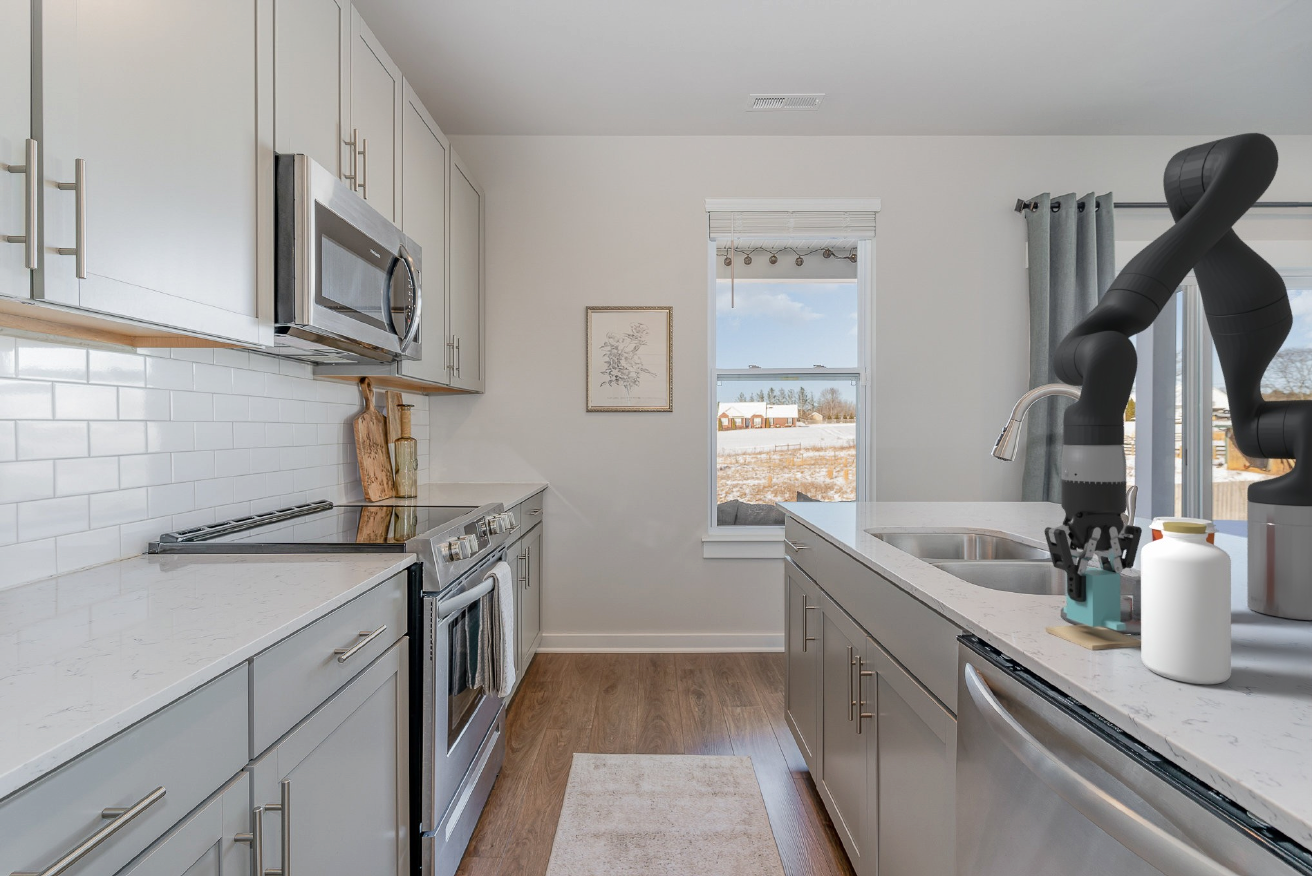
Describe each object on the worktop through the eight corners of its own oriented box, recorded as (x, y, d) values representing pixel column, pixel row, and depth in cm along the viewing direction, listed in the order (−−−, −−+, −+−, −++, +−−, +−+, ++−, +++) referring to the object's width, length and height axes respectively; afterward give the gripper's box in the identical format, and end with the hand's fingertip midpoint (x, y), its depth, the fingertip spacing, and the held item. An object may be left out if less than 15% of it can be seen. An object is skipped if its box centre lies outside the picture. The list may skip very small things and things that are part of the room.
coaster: (1093, 627, 95) (1093, 623, 95) (1143, 645, 87) (1143, 641, 87) (1045, 631, 94) (1045, 627, 94) (1092, 650, 86) (1092, 645, 86)
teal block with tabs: (1135, 629, 86) (1135, 577, 86) (1106, 631, 86) (1106, 579, 86) (1080, 611, 95) (1080, 564, 95) (1054, 613, 94) (1054, 565, 94)
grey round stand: (1110, 607, 106) (1110, 568, 105) (1189, 631, 93) (1189, 587, 93) (1040, 612, 103) (1040, 572, 103) (1111, 638, 90) (1111, 592, 90)
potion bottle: (1142, 656, 83) (1142, 517, 83) (1229, 671, 78) (1229, 522, 78) (1139, 676, 77) (1138, 525, 77) (1233, 694, 72) (1232, 531, 71)
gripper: (1070, 480, 85) (1070, 610, 85) (1161, 478, 88) (1161, 604, 88) (1027, 476, 93) (1028, 596, 93) (1113, 474, 95) (1113, 590, 95)
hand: (1093, 599), depth 90 cm, fingers closed on teal block with tabs, 4 cm apart
